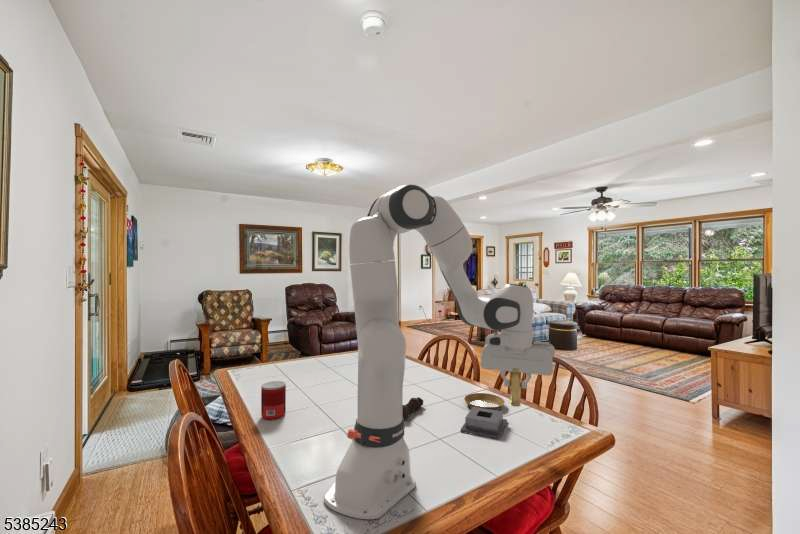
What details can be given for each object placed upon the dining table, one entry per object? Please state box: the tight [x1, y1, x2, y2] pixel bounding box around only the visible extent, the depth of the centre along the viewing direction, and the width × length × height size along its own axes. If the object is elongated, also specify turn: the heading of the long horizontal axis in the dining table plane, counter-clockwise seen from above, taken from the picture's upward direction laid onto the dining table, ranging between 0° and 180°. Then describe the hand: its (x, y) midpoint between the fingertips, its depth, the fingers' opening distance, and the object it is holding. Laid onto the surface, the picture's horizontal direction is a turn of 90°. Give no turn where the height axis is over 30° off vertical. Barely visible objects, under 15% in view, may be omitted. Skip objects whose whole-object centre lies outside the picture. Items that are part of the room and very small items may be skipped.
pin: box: [509, 368, 522, 408], centre depth 107 cm, size 4×4×11 cm
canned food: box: [260, 380, 287, 421], centre depth 127 cm, size 8×8×11 cm
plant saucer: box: [463, 392, 506, 411], centre depth 137 cm, size 15×15×3 cm
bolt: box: [402, 397, 424, 422], centre depth 130 cm, size 6×5×15 cm
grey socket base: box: [460, 407, 508, 441], centre depth 119 cm, size 14×12×4 cm
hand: (515, 386), depth 107 cm, fingers closed on pin, 3 cm apart
